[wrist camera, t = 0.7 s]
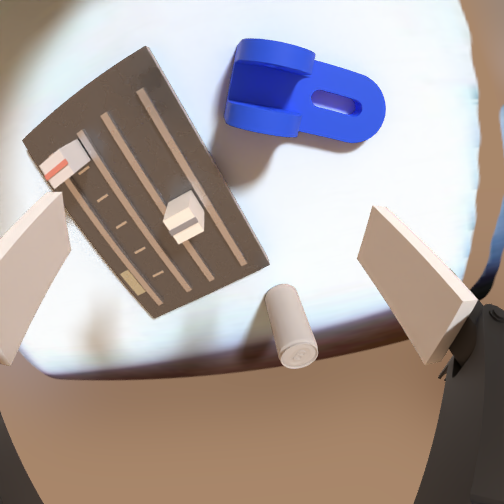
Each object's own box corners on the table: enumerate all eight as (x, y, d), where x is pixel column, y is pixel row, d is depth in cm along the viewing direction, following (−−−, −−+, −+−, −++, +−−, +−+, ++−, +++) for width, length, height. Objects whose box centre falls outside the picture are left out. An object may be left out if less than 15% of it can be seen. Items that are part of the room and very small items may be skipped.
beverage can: (258, 302, 47) (272, 365, 37) (274, 277, 45) (293, 339, 35) (286, 311, 48) (304, 372, 38) (303, 287, 46) (327, 347, 36)
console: (29, 136, 30) (19, 141, 28) (148, 47, 28) (144, 45, 26) (155, 309, 45) (153, 321, 43) (267, 256, 43) (270, 267, 41)
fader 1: (58, 153, 30) (38, 166, 26) (77, 138, 30) (58, 149, 25) (71, 174, 32) (53, 190, 27) (91, 159, 31) (74, 173, 27)
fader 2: (167, 202, 35) (162, 222, 31) (191, 189, 35) (188, 207, 30) (181, 223, 37) (178, 245, 32) (204, 211, 36) (204, 231, 32)
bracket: (223, 116, 33) (227, 128, 26) (237, 45, 29) (245, 35, 22) (368, 145, 37) (405, 166, 29) (383, 84, 33) (426, 91, 25)
